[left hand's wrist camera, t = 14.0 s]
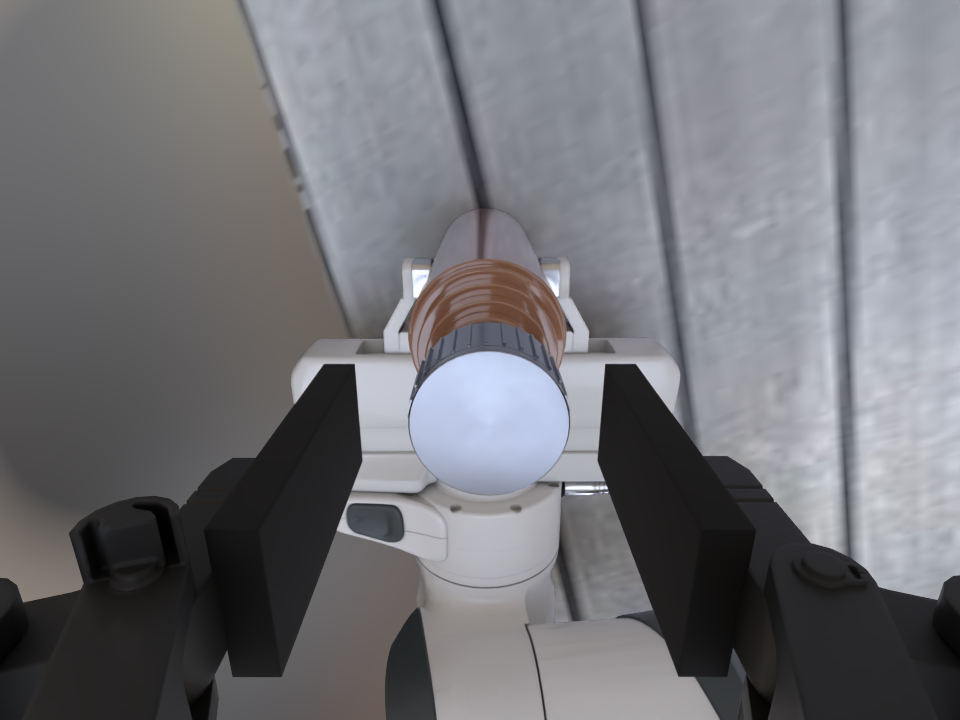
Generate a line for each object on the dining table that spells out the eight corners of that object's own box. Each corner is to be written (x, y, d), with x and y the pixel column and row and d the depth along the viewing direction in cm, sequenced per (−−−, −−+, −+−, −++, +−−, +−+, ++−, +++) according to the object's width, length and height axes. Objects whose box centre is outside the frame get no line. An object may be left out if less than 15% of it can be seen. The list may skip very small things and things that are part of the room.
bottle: (548, 253, 35) (648, 418, 14) (485, 314, 37) (489, 550, 15) (485, 188, 34) (488, 260, 13) (422, 254, 35) (329, 420, 14)
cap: (590, 388, 16) (607, 426, 14) (488, 477, 17) (489, 525, 15) (488, 288, 15) (489, 312, 13) (386, 389, 16) (371, 427, 14)
